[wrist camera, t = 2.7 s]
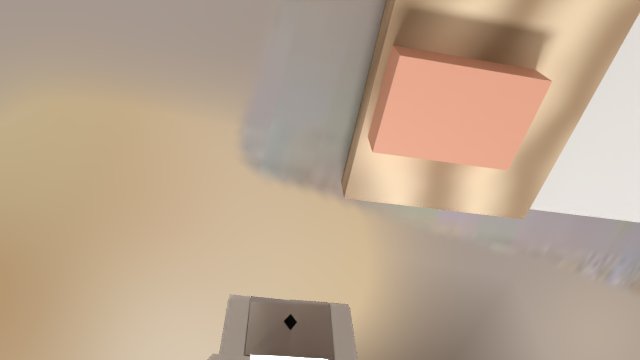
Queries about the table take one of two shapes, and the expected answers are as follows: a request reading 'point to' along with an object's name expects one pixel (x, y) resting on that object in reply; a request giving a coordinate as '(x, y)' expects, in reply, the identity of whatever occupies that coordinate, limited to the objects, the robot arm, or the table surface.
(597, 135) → the mat
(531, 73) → the pink rectangular block
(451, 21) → the riser
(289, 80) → the table surface
